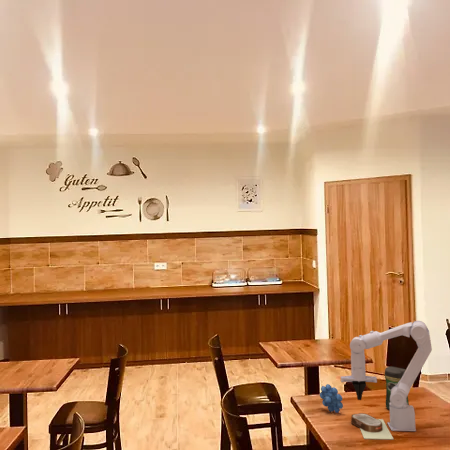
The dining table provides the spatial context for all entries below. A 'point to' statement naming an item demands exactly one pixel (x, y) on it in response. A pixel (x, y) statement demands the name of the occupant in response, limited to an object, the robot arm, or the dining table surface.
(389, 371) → the coffee jar
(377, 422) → the tin
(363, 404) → the dining table surface
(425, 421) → the dining table surface
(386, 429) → the mat
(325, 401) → the grapes
